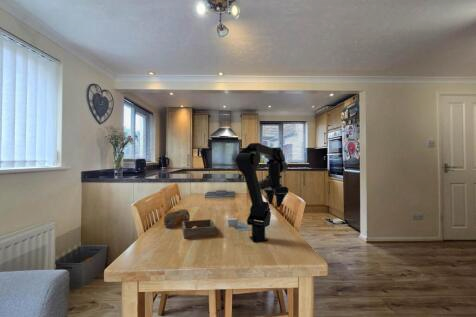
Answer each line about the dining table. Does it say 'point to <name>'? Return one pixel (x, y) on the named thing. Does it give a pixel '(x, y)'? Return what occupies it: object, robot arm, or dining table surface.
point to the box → (199, 228)
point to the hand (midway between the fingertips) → (274, 205)
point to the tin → (176, 218)
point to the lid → (237, 224)
